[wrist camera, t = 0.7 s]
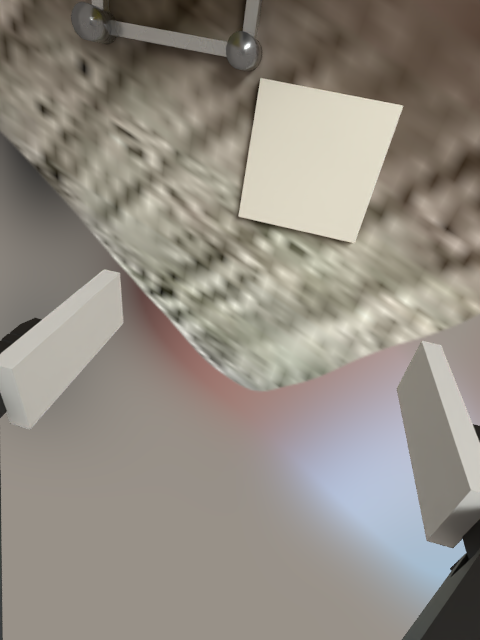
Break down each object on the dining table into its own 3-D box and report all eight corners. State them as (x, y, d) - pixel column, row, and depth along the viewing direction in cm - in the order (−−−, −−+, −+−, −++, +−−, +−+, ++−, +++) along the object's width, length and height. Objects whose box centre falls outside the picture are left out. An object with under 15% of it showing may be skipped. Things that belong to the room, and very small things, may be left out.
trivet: (262, 78, 32) (260, 78, 31) (401, 105, 31) (403, 105, 30) (240, 214, 38) (238, 216, 38) (354, 240, 37) (354, 243, 36)
